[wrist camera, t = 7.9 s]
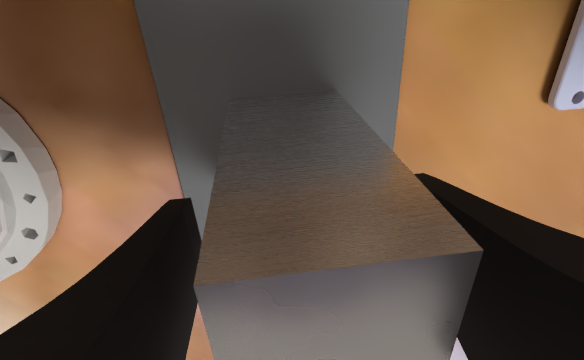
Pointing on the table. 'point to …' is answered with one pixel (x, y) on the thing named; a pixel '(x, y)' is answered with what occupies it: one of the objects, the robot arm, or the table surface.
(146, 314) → the robot arm
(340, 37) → the rubber mat
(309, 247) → the alloy block
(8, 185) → the mechanical component
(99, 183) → the table surface
